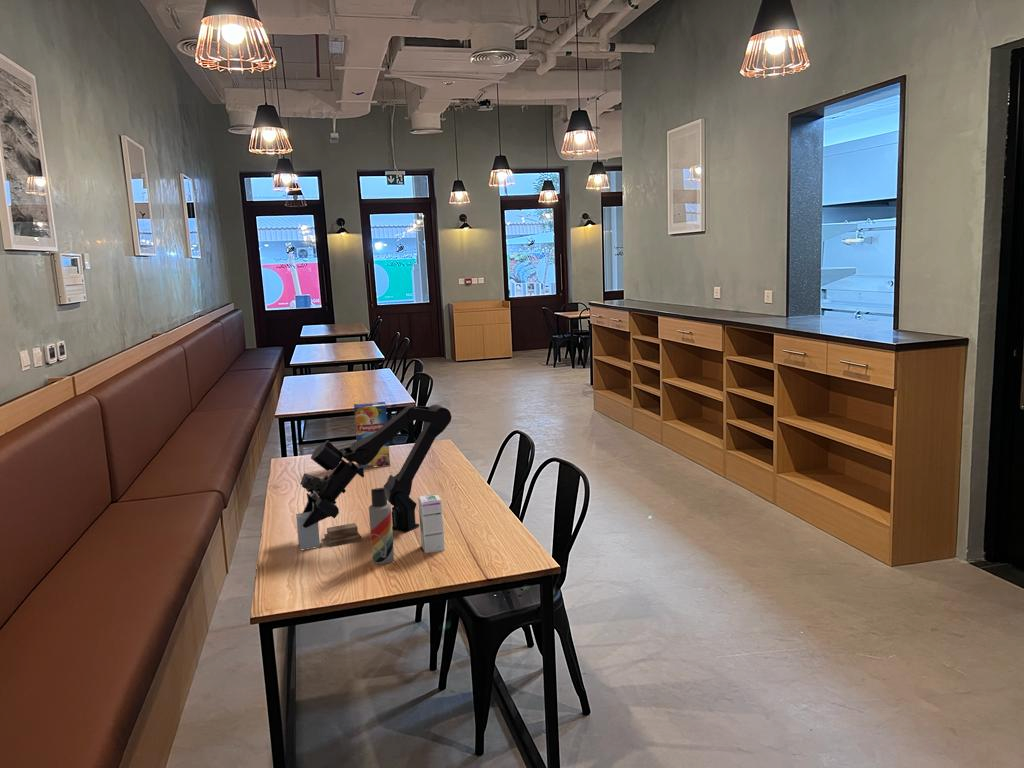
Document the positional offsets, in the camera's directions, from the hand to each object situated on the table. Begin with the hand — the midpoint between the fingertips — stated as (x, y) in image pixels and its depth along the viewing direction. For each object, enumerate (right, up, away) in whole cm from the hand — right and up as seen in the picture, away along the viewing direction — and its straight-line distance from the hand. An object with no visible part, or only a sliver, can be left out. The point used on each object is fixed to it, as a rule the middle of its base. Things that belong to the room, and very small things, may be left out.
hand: (302, 524), depth 209 cm
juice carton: (+5, +7, +84) cm, 84 cm away
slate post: (+2, -6, +2) cm, 7 cm away
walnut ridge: (+10, -5, +6) cm, 13 cm away
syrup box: (+37, -6, -4) cm, 38 cm away
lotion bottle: (+25, -8, -11) cm, 28 cm away
